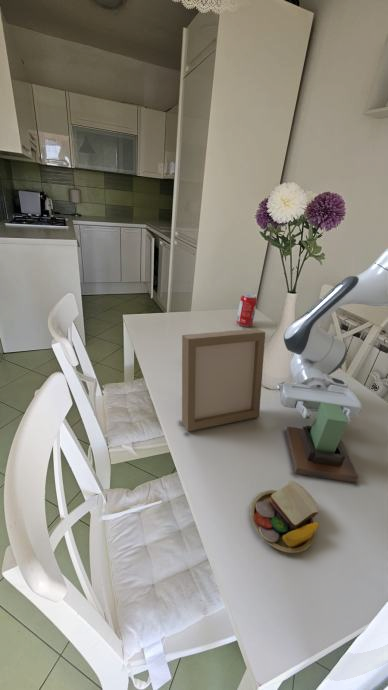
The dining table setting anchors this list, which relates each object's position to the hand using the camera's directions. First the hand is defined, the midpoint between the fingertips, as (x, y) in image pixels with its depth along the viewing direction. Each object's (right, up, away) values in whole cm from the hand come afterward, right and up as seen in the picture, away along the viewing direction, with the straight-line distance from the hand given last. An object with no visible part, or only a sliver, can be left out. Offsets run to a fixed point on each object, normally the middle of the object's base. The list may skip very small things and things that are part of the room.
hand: (327, 419), depth 74 cm
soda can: (-8, +28, +75) cm, 80 cm away
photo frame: (-27, -1, +15) cm, 31 cm away
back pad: (-1, -8, +2) cm, 8 cm away
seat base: (-1, -10, +3) cm, 10 cm away
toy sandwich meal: (-15, -17, -13) cm, 26 cm away
